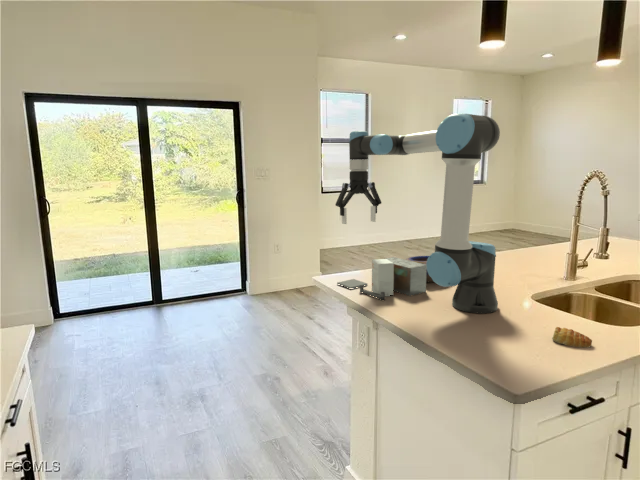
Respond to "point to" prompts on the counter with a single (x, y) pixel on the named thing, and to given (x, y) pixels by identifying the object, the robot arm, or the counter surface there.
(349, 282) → the coaster
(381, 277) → the small box
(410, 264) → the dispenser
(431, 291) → the counter surface
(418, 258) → the bowl
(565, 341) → the pastry
